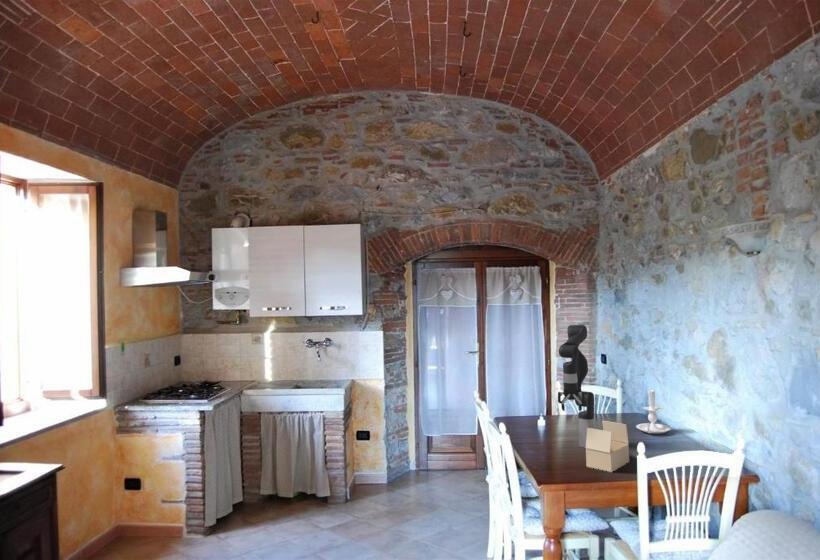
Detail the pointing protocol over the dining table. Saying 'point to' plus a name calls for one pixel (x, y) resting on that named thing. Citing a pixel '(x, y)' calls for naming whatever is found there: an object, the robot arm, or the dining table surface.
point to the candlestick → (652, 418)
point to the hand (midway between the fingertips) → (571, 410)
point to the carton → (608, 457)
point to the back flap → (616, 431)
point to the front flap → (598, 440)
